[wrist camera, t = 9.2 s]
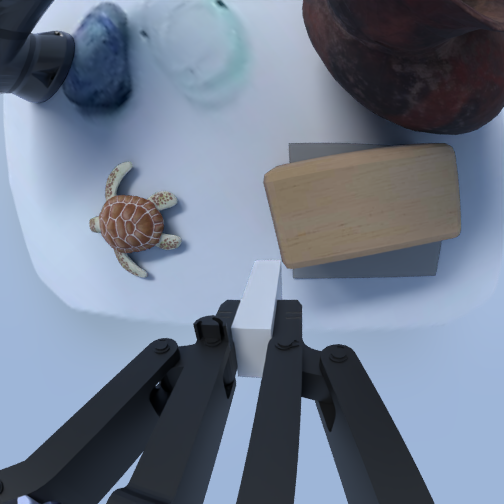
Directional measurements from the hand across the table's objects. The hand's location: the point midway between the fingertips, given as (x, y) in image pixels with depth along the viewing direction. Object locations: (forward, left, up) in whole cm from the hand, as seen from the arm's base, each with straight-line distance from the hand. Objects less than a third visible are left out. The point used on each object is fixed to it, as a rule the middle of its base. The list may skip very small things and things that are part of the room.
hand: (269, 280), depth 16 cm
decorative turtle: (0, -23, -21) cm, 31 cm away
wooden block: (-1, -1, -15) cm, 15 cm away
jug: (-23, +16, -20) cm, 35 cm away
